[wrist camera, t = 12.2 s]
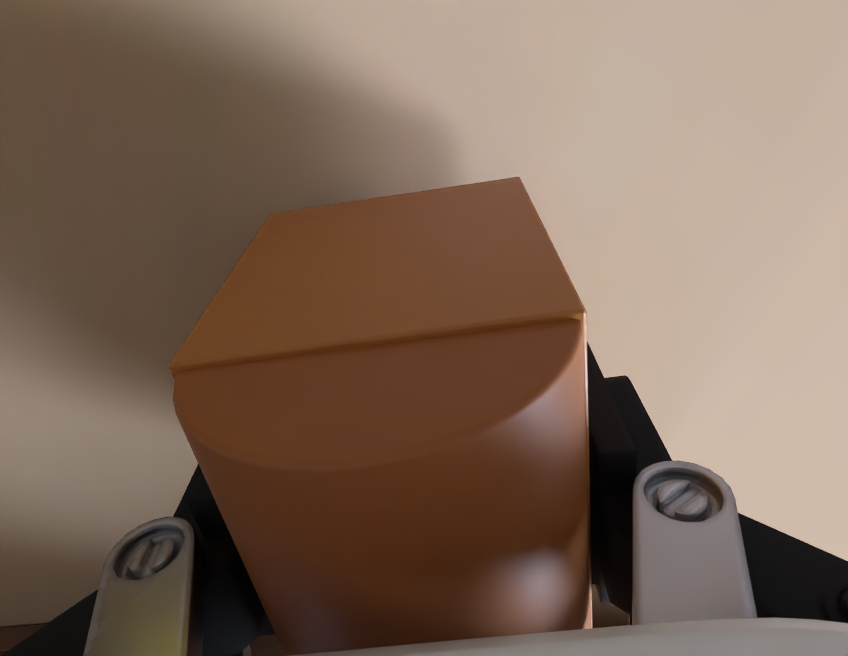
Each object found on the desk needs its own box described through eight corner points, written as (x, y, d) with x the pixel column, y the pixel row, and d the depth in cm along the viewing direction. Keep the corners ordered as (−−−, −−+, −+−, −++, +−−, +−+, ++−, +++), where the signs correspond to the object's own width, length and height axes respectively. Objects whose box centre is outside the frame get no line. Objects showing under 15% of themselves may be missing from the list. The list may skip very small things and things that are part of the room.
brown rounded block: (520, 176, 12) (644, 421, 5) (541, 479, 15) (626, 836, 9) (269, 213, 12) (82, 486, 5) (353, 499, 16) (303, 858, 9)
